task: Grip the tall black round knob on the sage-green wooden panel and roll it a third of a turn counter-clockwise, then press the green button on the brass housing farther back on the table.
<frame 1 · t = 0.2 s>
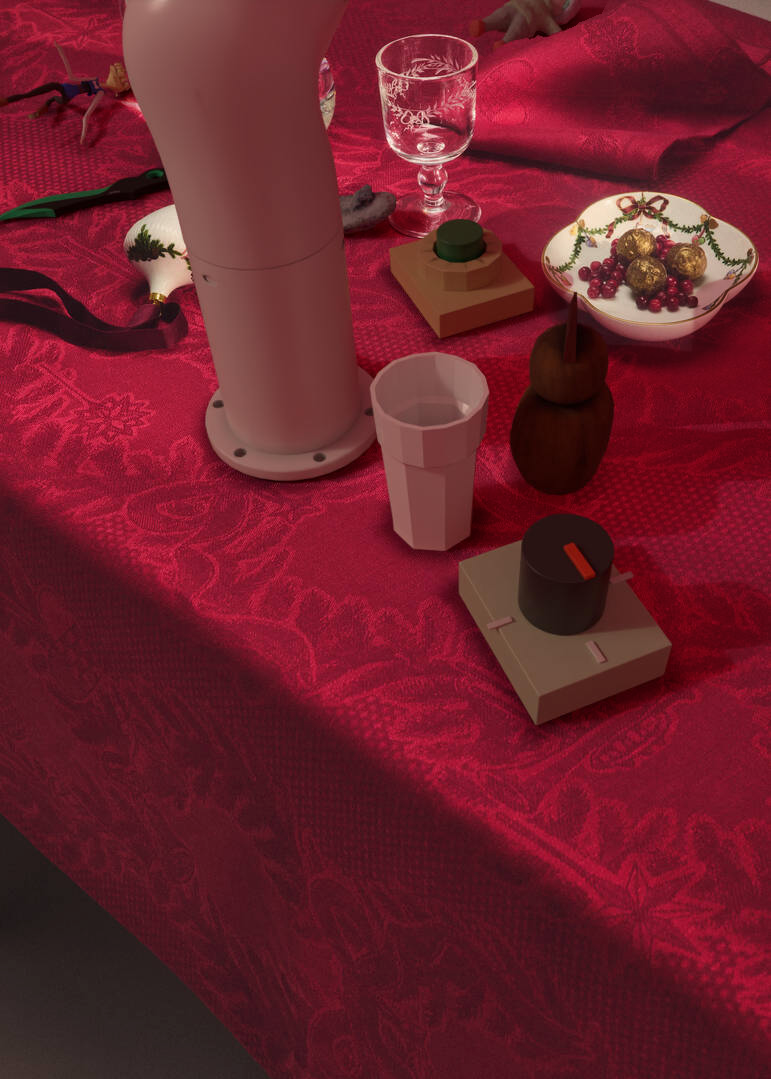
button box: (459, 290, 80), on the table
figurine: (147, 51, 107), point 3 cm above the table
dial: (564, 572, 54), point 6 cm above the table, hinge at 0.0°
dial panel: (557, 632, 58), on the table
knife: (109, 173, 95), on the table
cup: (433, 523, 64), on the table
wooden figurine: (557, 476, 66), on the table
start button: (459, 241, 77), point 5 cm above the table, slide at 0.1 cm
fossil: (342, 228, 85), point 1 cm above the table
toy: (481, 47, 107), point 1 cm above the table
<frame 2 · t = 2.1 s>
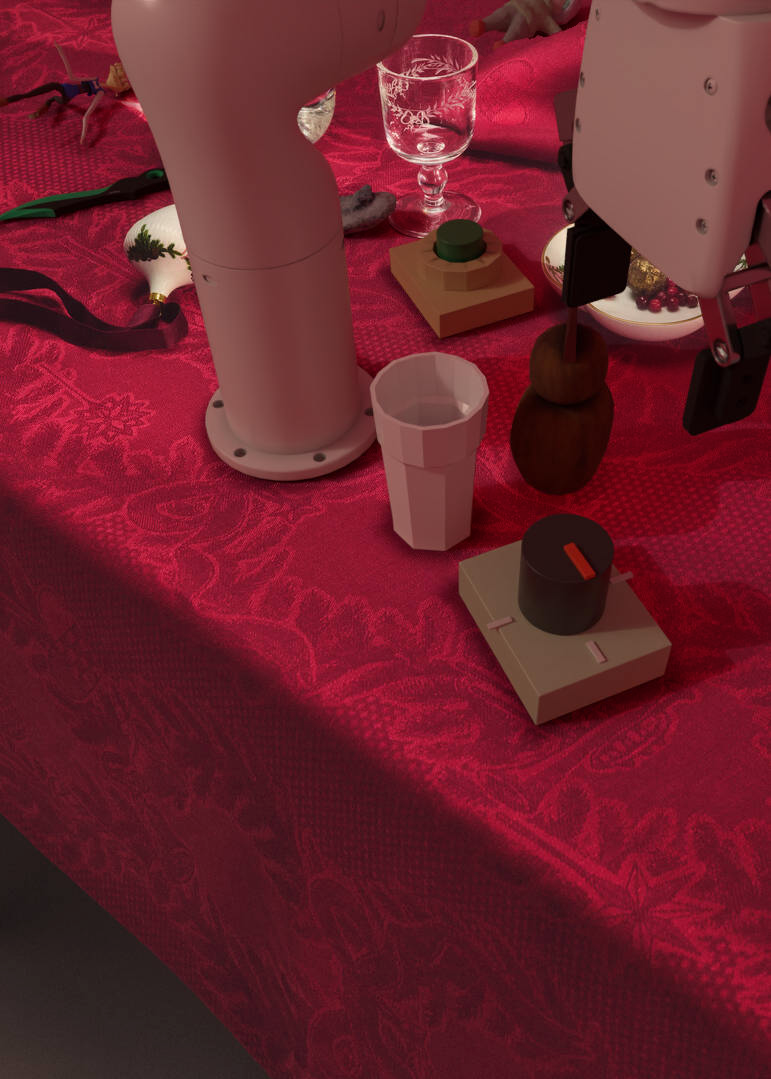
hand: (651, 355, 44), 19 cm above the table, tool pointing down, fingers open, 9 cm apart
nothing on the table moved.
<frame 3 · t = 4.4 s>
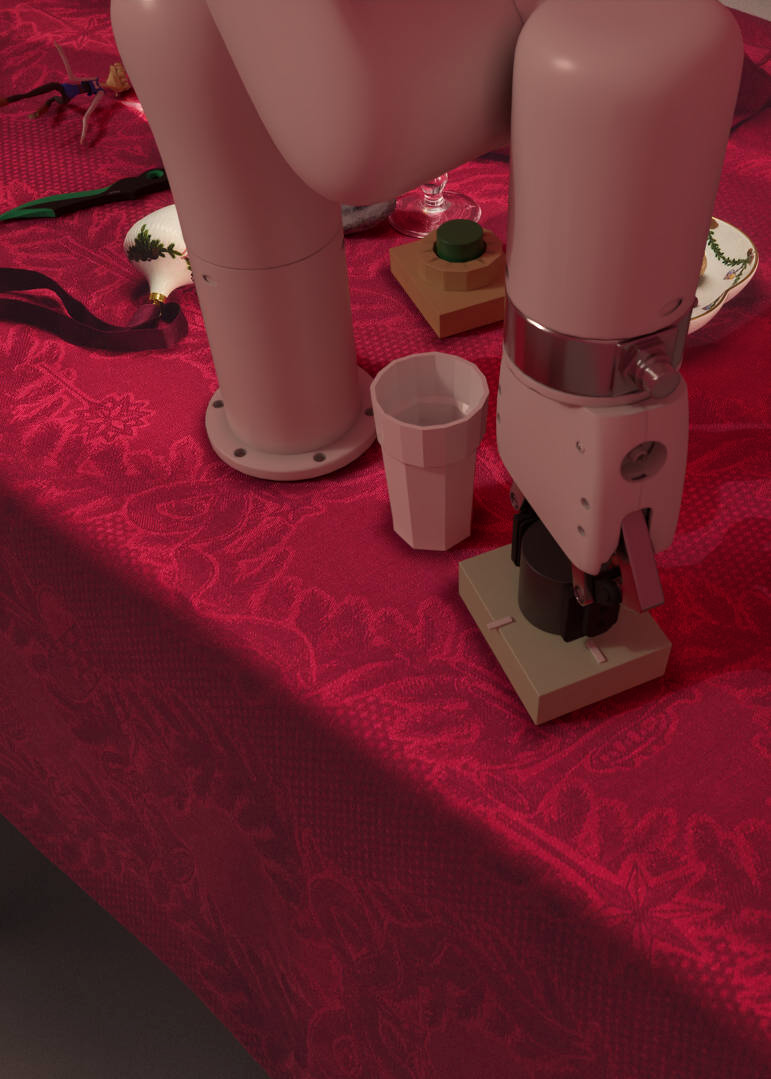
hand: (562, 590, 55), 4 cm above the table, tool pointing down, fingers closed on dial, 4 cm apart
dial: (564, 572, 54), point 6 cm above the table, hinge at 0.0°, touching gripper
everything else where it was.
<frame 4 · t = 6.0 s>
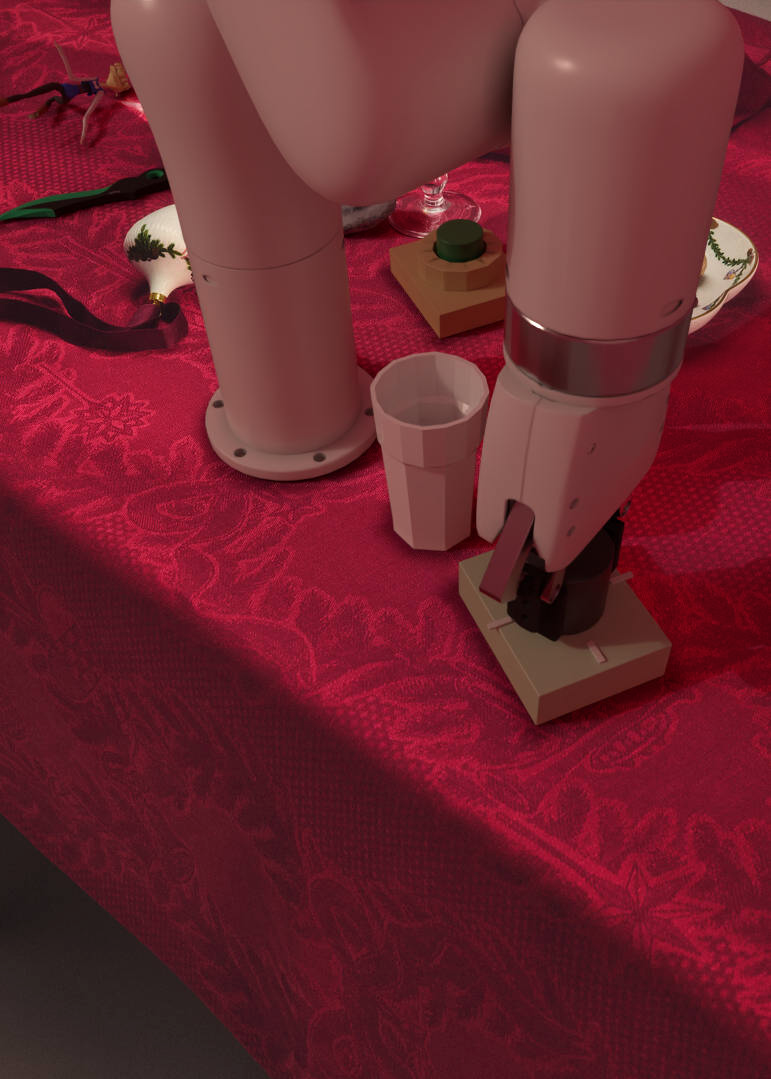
hand: (562, 590, 55), 4 cm above the table, tool pointing down, fingers closed on dial, 4 cm apart
dial: (564, 572, 54), point 6 cm above the table, hinge at 119.6°, touching gripper
everything else where it was.
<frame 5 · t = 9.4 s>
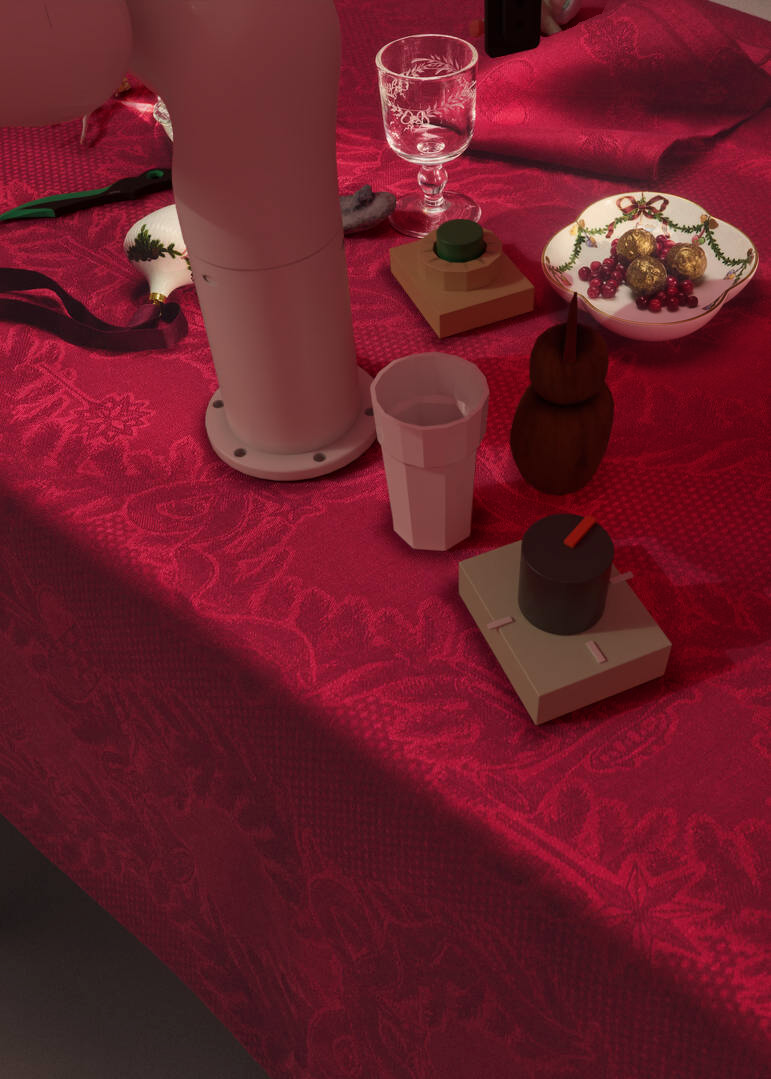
hand: (481, 19, 60), 23 cm above the table, tool pointing down, fingers open, 9 cm apart
dial: (564, 572, 54), point 6 cm above the table, hinge at 118.7°
everything else where it was.
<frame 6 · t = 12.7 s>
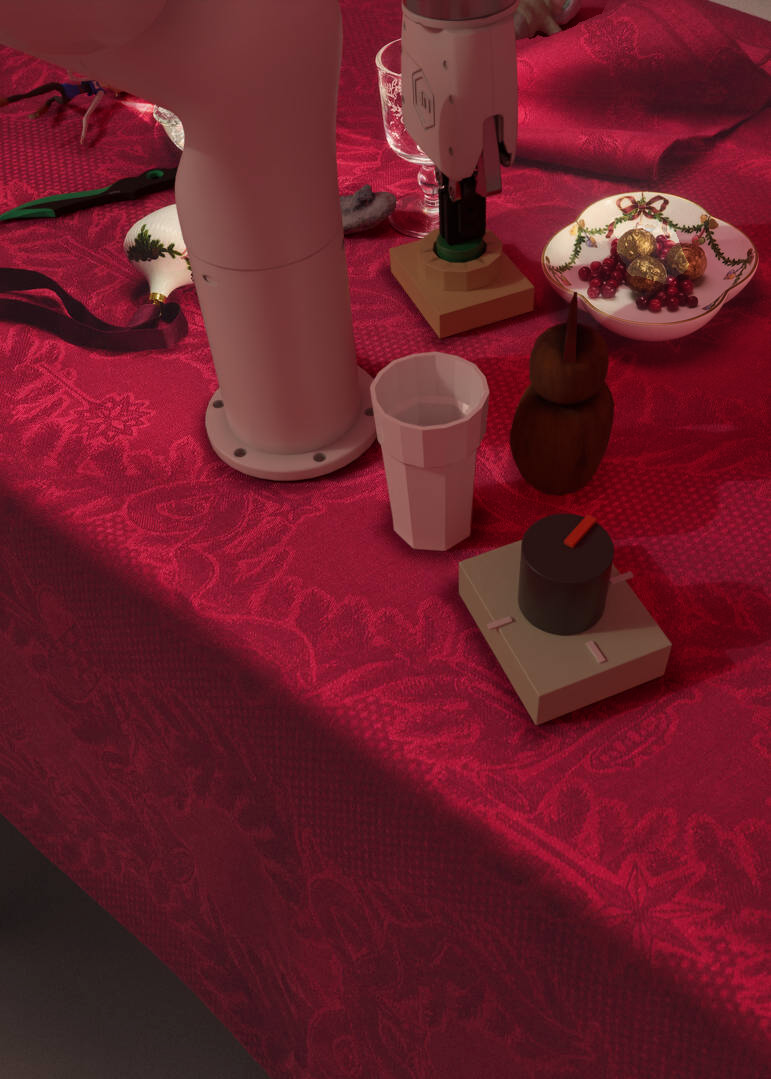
hand: (462, 235, 77), 5 cm above the table, tool pointing down, fingers closed
start button: (459, 248, 77), point 4 cm above the table, slide at -0.5 cm, touching gripper
everything else where it was.
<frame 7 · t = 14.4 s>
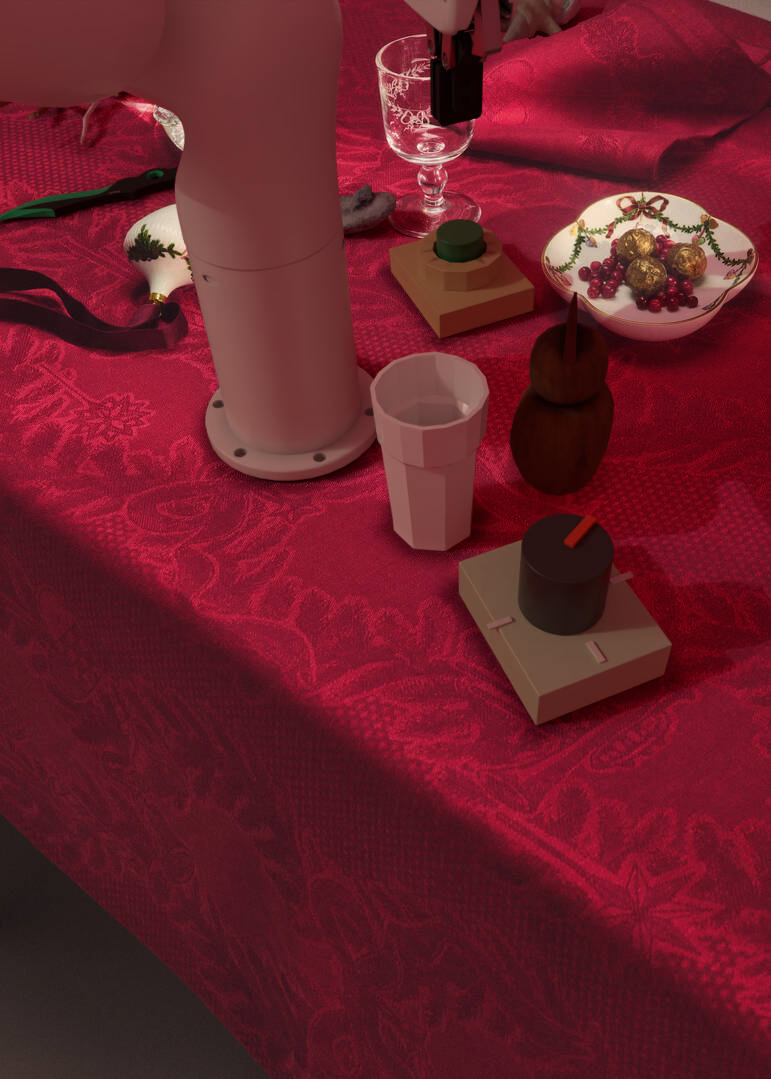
hand: (456, 117, 69), 14 cm above the table, tool pointing down, fingers closed
start button: (459, 241, 77), point 5 cm above the table, slide at 0.1 cm
everything else where it was.
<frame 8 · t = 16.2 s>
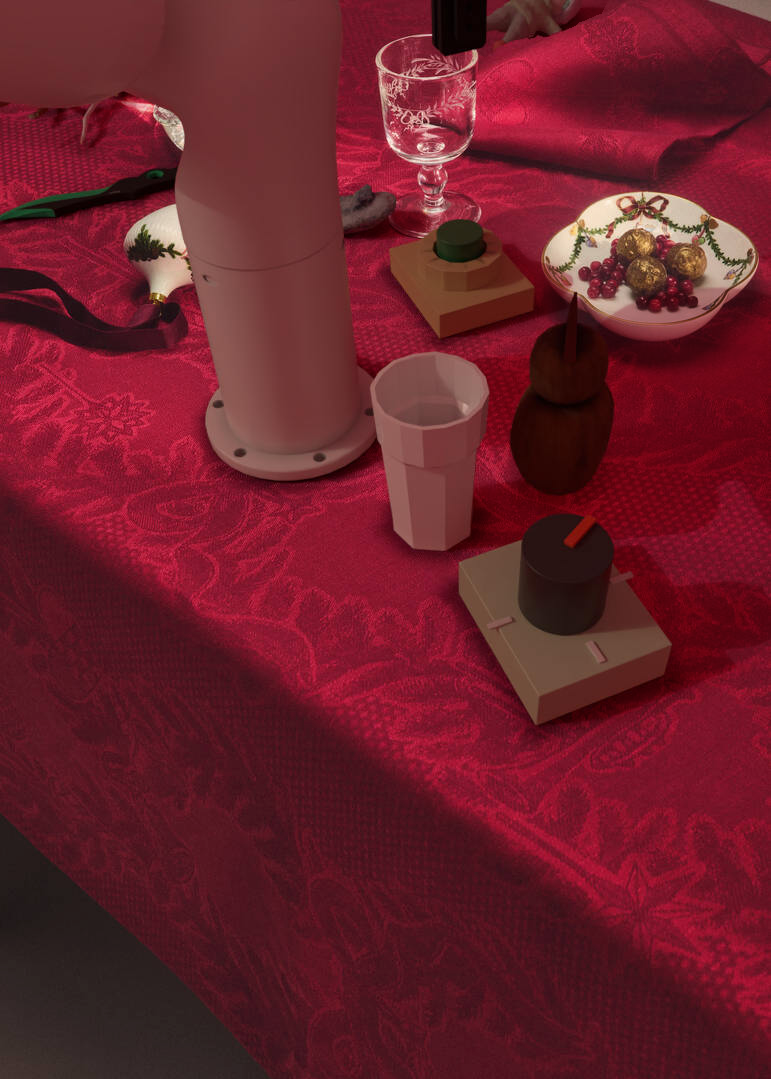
hand: (459, 46, 66), 19 cm above the table, tool pointing down, fingers closed
nothing on the table moved.
at the end: dial at +119° (first picture: +0°); start button pushed in 1.0 cm at the most during the clip, back to where it started at the end; start button slide at 0.1 cm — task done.
